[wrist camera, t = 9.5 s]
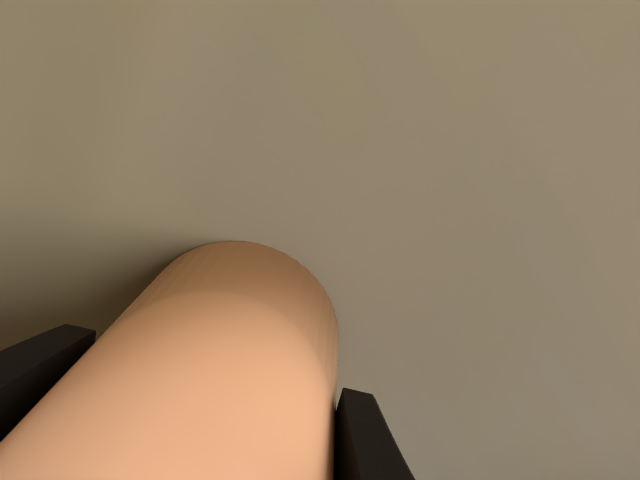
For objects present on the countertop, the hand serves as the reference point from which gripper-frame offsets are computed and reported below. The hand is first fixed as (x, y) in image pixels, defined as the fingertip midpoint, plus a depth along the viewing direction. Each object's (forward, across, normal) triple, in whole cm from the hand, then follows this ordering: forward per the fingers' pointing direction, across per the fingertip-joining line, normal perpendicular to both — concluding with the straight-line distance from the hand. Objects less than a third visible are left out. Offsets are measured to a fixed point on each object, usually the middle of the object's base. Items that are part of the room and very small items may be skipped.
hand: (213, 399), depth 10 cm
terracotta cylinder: (+3, 0, 0) cm, 3 cm away
